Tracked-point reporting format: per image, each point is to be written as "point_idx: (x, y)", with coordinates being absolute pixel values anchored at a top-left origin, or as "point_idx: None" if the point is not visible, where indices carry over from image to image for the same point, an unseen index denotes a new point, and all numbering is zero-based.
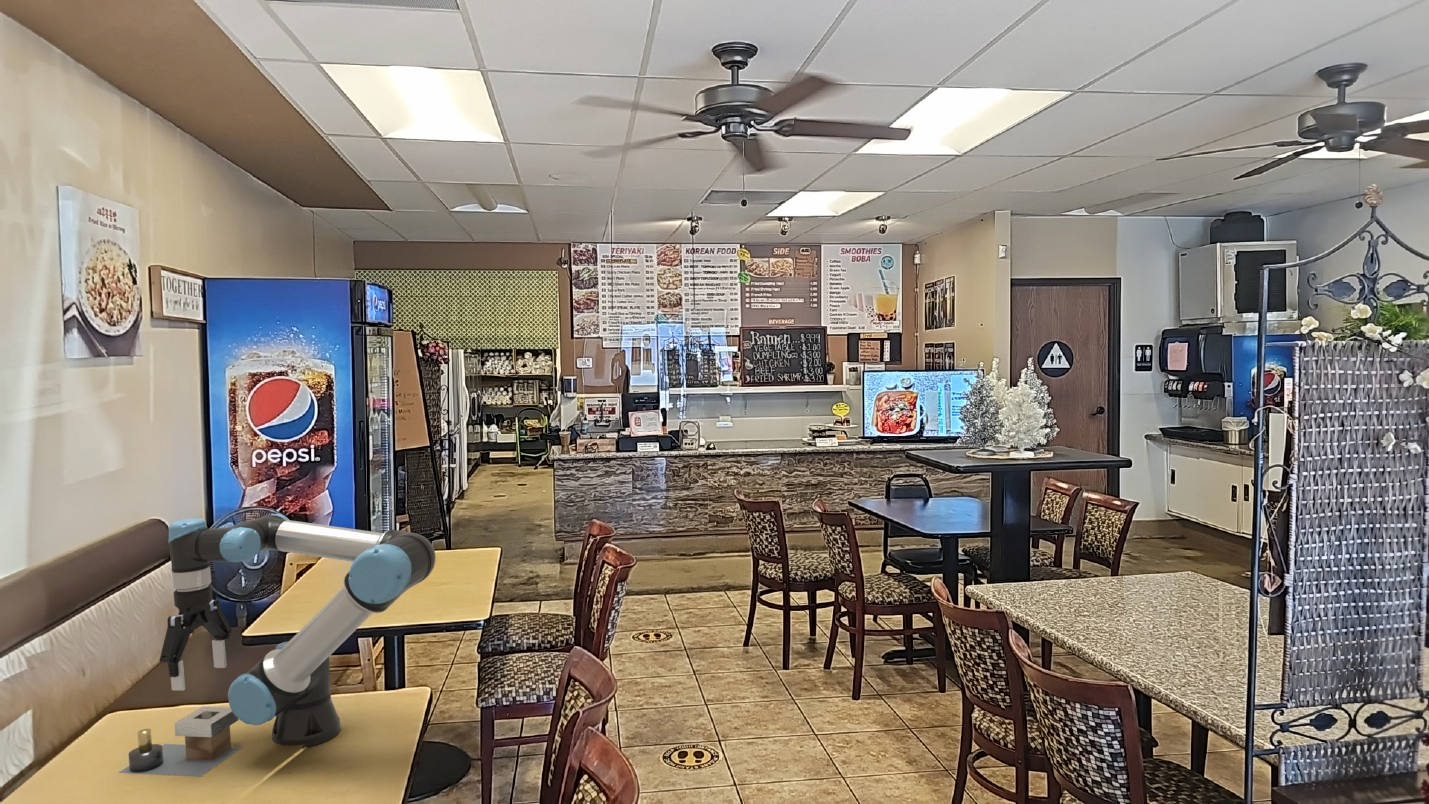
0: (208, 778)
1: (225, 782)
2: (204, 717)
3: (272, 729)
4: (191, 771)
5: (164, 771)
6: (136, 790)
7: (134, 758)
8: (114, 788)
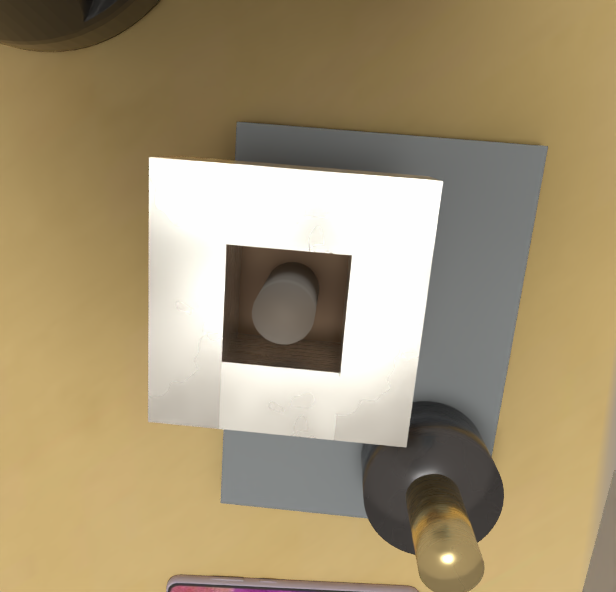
0: (514, 125)
1: (564, 7)
2: (314, 306)
3: (88, 19)
4: (491, 225)
5: (481, 350)
6: (599, 380)
7: (502, 501)
8: (571, 474)
